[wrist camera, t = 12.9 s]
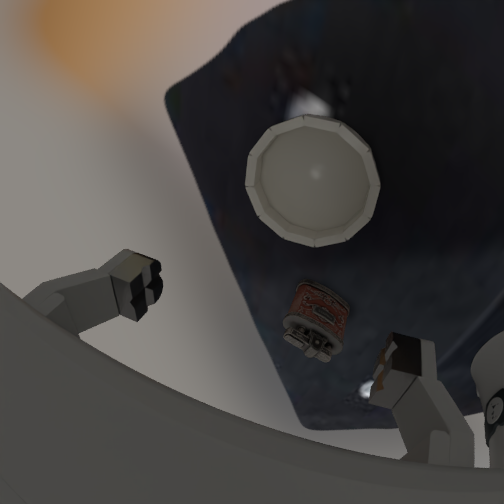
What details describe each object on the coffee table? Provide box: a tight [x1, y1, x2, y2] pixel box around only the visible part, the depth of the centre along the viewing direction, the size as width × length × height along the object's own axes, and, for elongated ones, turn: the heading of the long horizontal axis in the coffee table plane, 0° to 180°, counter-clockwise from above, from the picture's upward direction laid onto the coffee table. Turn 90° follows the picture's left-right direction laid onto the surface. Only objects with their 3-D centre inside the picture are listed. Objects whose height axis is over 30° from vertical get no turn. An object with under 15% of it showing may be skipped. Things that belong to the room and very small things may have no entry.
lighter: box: [283, 279, 350, 362], centre depth 38 cm, size 8×3×10 cm, turn 64°
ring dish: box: [245, 114, 380, 247], centre depth 33 cm, size 14×14×3 cm
